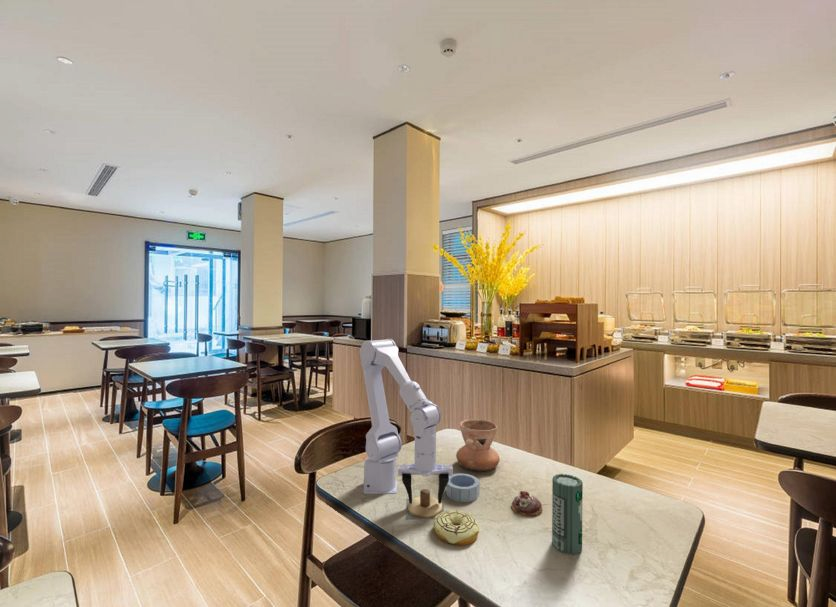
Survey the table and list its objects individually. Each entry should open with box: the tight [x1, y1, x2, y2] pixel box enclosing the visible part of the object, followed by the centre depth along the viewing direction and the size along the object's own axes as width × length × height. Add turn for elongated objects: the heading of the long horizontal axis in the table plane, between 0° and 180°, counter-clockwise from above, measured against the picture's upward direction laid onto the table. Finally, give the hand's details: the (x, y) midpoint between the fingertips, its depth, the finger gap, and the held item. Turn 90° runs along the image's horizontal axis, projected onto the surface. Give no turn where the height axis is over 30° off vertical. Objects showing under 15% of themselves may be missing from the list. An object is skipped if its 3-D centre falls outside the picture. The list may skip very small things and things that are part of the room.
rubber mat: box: [405, 498, 445, 520], centre depth 102 cm, size 10×10×1 cm
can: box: [551, 473, 584, 556], centre depth 87 cm, size 6×6×15 cm
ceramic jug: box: [455, 418, 500, 472], centre depth 130 cm, size 18×14×14 cm
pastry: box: [511, 490, 543, 517], centre depth 103 cm, size 8×8×5 cm
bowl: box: [445, 473, 480, 503], centre depth 110 cm, size 9×9×4 cm
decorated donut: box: [432, 509, 480, 546], centre depth 91 cm, size 10×11×4 cm
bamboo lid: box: [408, 488, 442, 518], centre depth 102 cm, size 9×9×4 cm
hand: (425, 501), depth 102 cm, fingers open, 7 cm apart
